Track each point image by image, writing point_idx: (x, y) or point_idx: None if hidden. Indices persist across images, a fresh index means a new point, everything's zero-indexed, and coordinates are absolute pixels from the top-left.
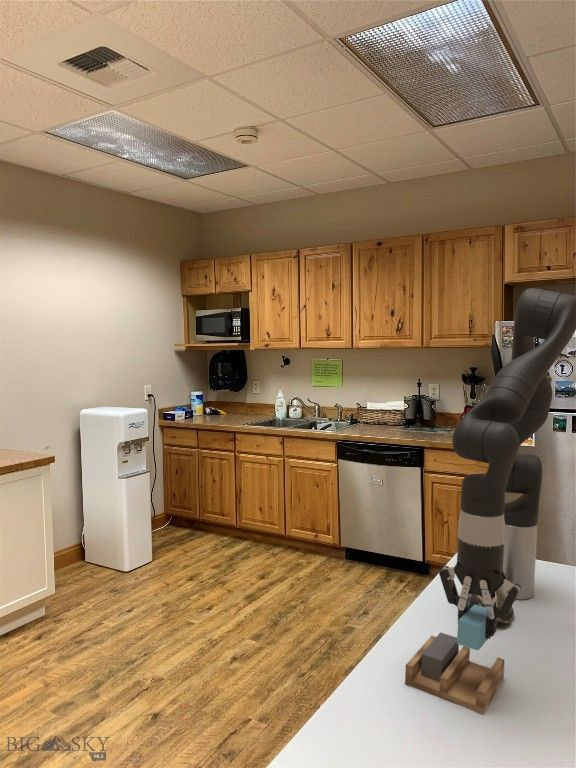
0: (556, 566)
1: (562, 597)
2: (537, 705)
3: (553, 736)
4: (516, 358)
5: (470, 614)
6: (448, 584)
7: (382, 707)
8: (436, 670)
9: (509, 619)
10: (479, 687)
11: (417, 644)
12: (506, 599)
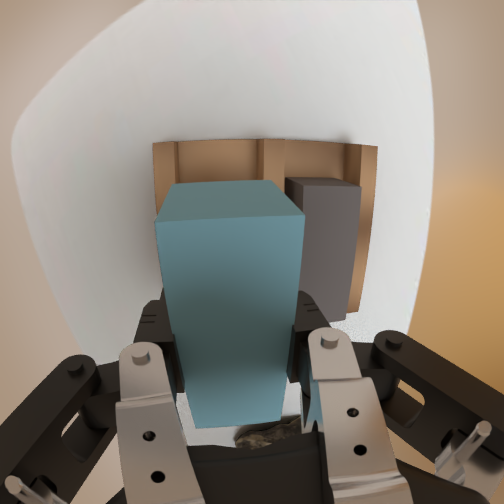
0: None
1: None
2: (86, 255)
3: (36, 178)
4: None
5: (266, 338)
6: (463, 400)
7: (355, 46)
8: (306, 180)
9: (238, 447)
10: (172, 162)
11: (369, 299)
12: (20, 450)
